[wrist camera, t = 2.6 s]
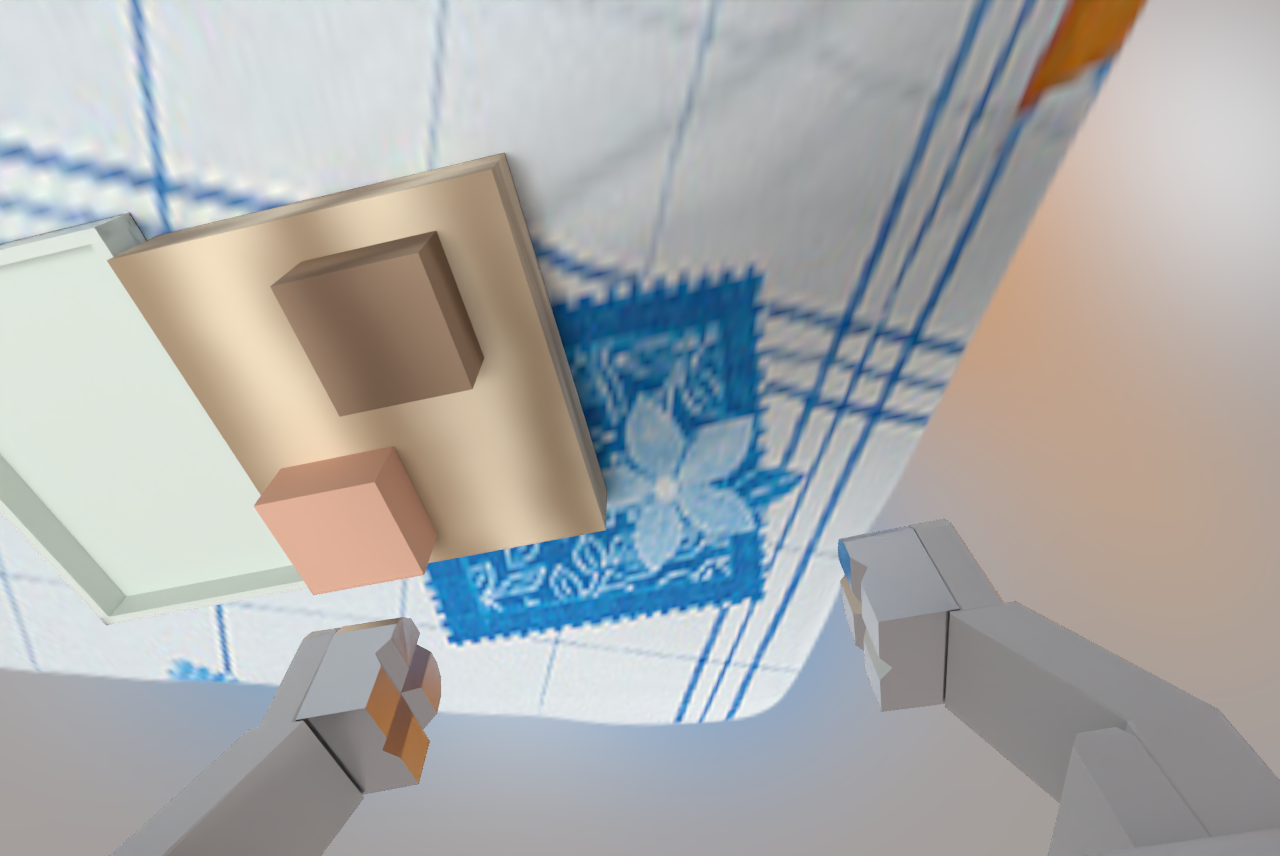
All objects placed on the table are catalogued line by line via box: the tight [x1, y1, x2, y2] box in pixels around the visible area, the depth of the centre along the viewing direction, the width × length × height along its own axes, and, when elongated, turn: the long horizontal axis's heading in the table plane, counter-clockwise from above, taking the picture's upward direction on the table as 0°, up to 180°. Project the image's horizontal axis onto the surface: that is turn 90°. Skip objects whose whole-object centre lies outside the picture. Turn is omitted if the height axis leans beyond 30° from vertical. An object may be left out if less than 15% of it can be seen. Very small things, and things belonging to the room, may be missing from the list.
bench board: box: [107, 153, 607, 563], centre depth 28 cm, size 14×16×3 cm
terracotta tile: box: [254, 446, 437, 595], centre depth 28 cm, size 5×5×2 cm
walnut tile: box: [270, 231, 484, 417], centre depth 24 cm, size 5×5×2 cm
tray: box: [0, 213, 308, 625], centre depth 30 cm, size 12×18×2 cm, turn 12°
